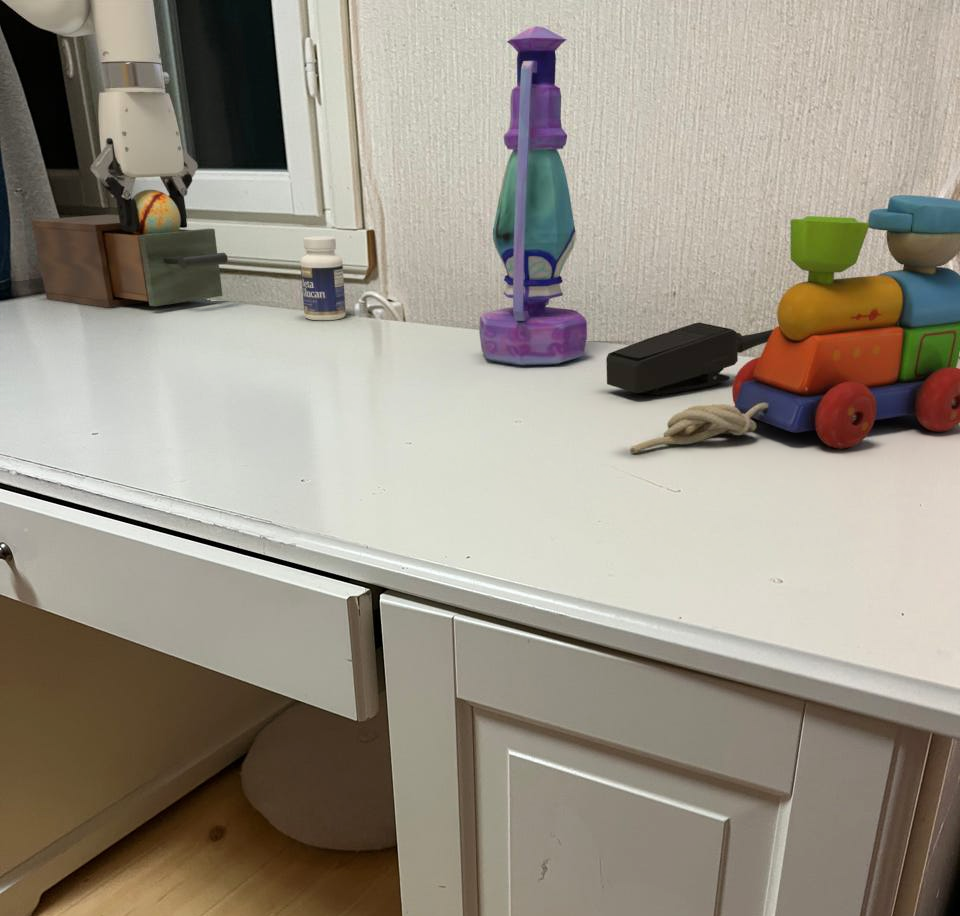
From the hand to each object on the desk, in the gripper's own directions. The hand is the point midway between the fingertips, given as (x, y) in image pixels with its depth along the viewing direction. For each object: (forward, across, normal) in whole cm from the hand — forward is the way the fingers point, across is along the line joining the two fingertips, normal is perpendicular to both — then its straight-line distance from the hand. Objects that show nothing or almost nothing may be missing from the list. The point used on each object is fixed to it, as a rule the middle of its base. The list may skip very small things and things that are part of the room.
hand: (155, 228), depth 135 cm
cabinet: (+10, 0, -12) cm, 16 cm away
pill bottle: (+10, -5, +27) cm, 29 cm away
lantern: (+10, +1, +64) cm, 65 cm away
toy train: (+10, +12, +98) cm, 99 cm away
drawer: (+9, 0, 0) cm, 9 cm away
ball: (+2, 0, 0) cm, 2 cm away
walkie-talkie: (+10, +2, +84) cm, 84 cm away
